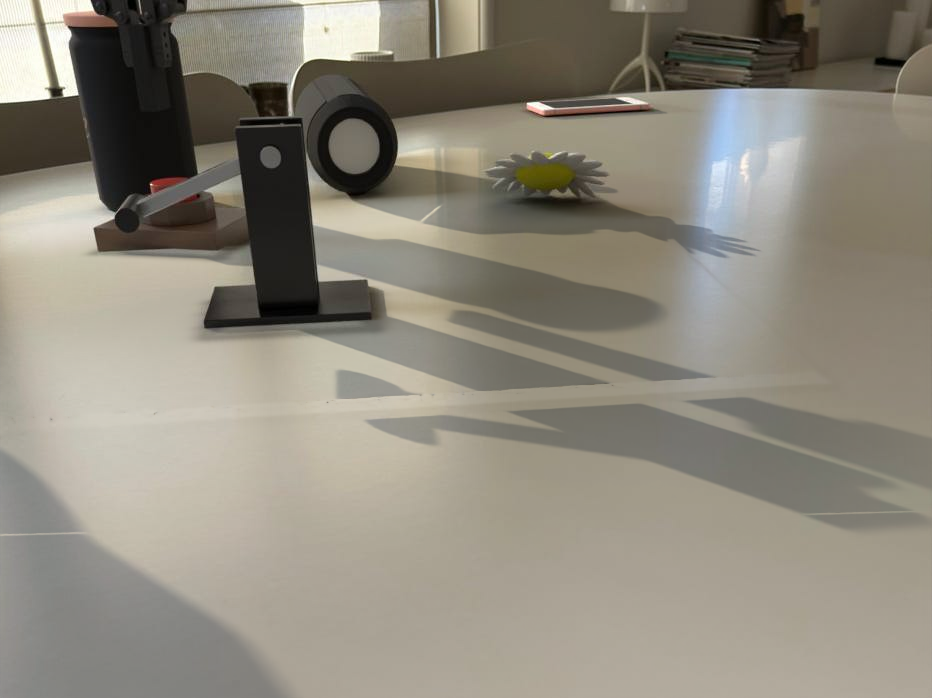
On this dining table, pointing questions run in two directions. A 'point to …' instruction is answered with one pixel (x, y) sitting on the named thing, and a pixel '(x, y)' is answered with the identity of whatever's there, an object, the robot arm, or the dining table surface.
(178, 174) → the coffee jar
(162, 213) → the button box
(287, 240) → the bracket
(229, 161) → the lever
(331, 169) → the portable speaker
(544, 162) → the decorative flower
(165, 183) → the button
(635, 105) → the cell phone
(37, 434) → the dining table surface
